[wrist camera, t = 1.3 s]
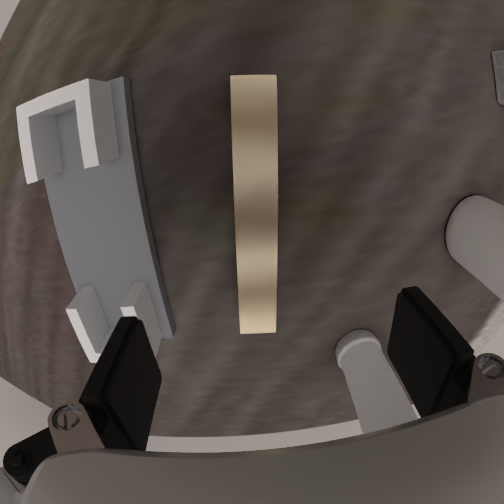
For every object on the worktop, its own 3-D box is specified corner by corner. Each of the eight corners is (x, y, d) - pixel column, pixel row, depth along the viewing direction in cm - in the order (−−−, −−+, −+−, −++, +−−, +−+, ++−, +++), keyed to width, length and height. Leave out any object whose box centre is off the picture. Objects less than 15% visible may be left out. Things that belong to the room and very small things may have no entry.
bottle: (342, 368, 34) (404, 564, 11) (326, 342, 32) (395, 567, 9) (381, 348, 33) (466, 536, 10) (368, 319, 31) (470, 534, 8)
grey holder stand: (42, 106, 21) (6, 108, 16) (129, 78, 21) (102, 69, 16) (99, 331, 30) (82, 364, 25) (175, 328, 30) (166, 365, 25)
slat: (231, 83, 22) (230, 75, 18) (270, 83, 22) (276, 75, 18) (239, 304, 30) (240, 333, 26) (271, 303, 30) (275, 332, 26)
